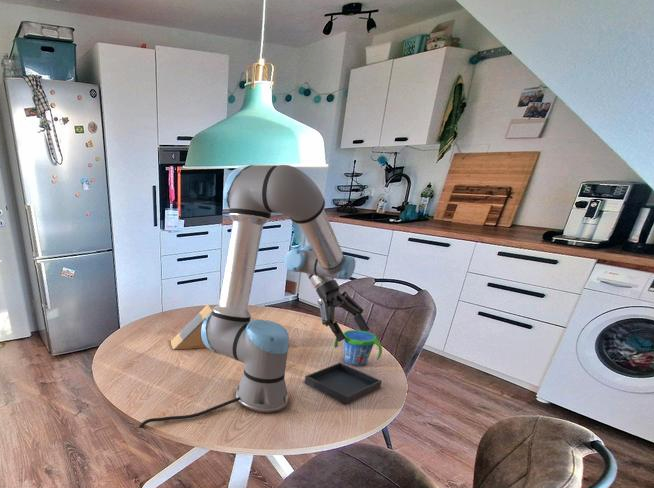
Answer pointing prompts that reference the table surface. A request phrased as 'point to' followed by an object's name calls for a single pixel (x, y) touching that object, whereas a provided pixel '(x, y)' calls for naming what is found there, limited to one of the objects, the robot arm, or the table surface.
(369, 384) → the tray
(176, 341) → the sandwich container
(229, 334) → the robot arm
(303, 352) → the table surface
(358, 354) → the snack cup
